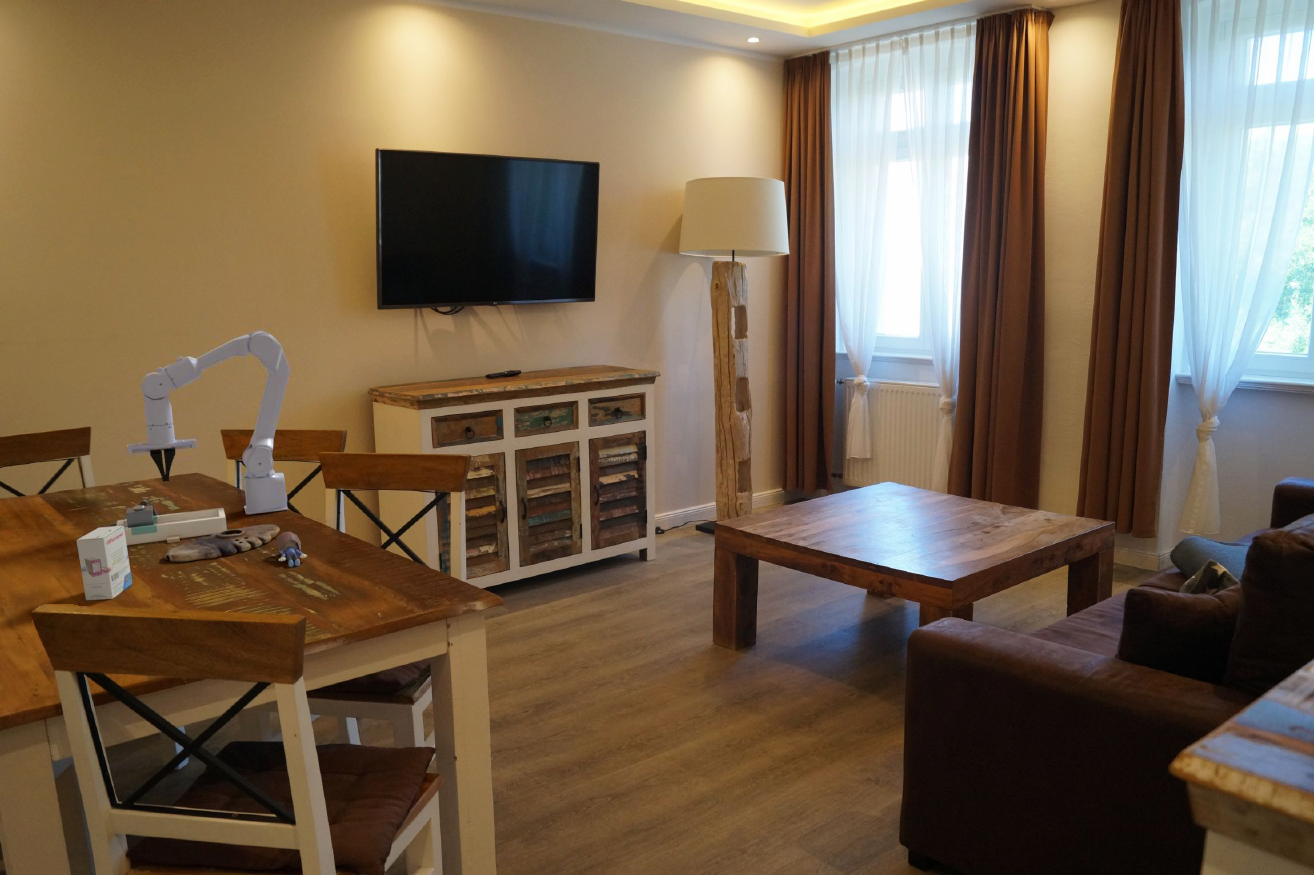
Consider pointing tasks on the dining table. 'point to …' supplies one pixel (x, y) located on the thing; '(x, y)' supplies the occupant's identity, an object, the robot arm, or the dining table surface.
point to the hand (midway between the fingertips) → (165, 480)
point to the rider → (139, 516)
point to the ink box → (104, 562)
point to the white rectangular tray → (176, 526)
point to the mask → (223, 543)
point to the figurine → (289, 548)
